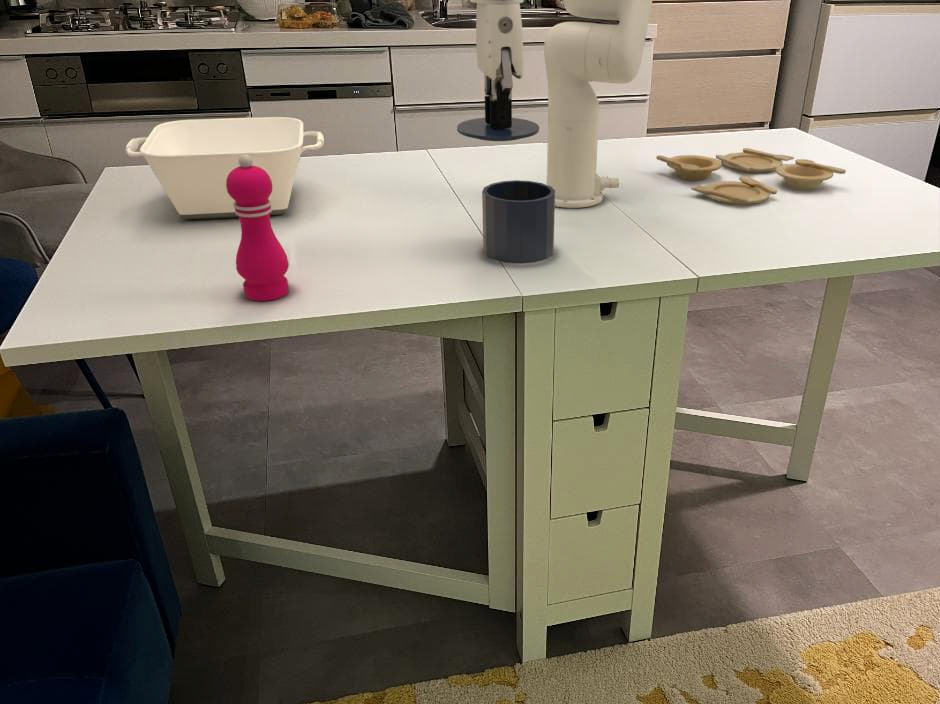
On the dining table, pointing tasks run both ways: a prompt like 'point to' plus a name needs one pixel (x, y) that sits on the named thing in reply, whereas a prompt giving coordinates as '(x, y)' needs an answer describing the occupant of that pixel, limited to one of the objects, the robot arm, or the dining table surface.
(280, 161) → the tub
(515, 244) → the tin
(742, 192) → the tableware set
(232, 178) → the pepper mill
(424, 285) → the dining table surface
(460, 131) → the tin lid
